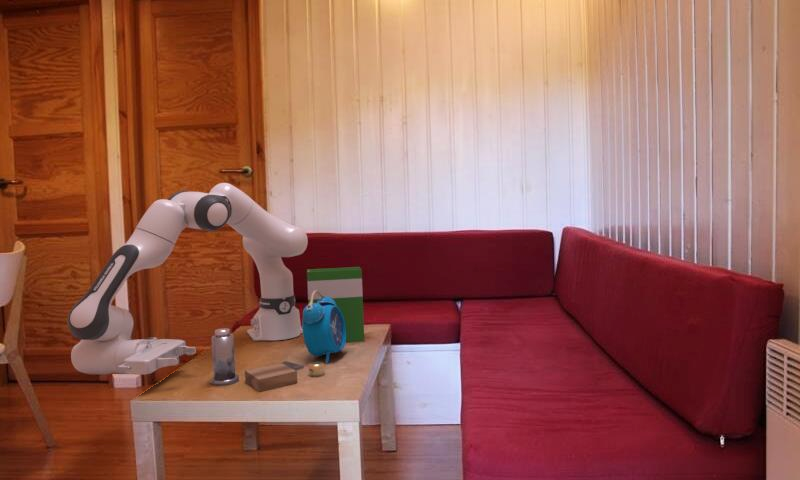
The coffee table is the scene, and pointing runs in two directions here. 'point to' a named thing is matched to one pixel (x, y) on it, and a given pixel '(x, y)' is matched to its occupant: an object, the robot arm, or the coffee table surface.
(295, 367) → the steel plate
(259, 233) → the robot arm
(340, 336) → the alarm clock
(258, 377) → the stand
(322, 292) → the hardback book
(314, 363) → the brass knob
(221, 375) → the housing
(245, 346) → the coffee table surface
